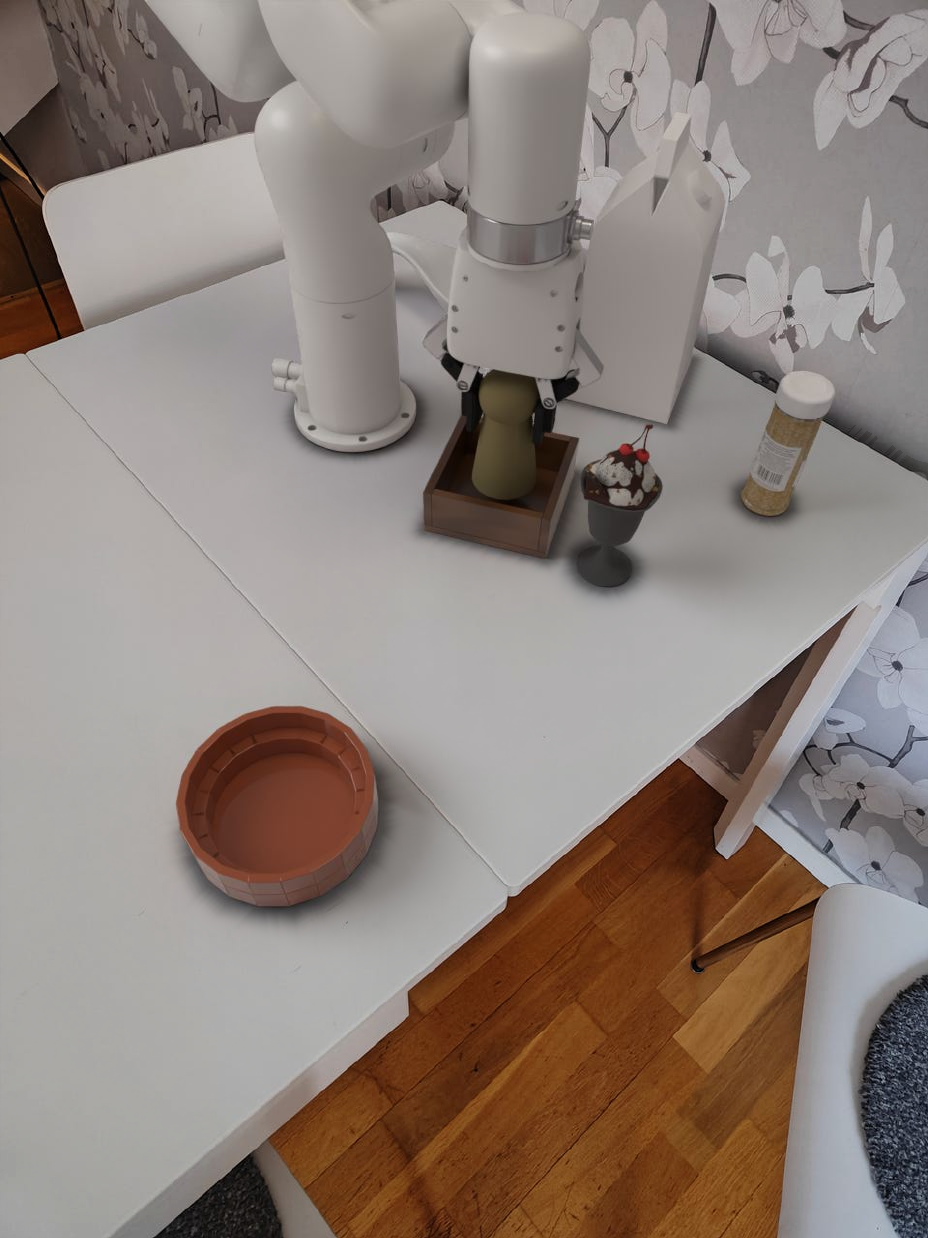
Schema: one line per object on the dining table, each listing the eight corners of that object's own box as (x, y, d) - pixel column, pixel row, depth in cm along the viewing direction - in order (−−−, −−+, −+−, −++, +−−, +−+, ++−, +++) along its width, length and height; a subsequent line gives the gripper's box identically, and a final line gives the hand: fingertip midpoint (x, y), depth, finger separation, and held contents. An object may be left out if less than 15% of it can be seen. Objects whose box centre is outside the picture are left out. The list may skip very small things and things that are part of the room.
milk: (592, 337, 100) (629, 89, 80) (691, 360, 98) (755, 110, 77) (561, 397, 93) (593, 142, 73) (666, 424, 91) (730, 167, 70)
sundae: (647, 549, 79) (682, 417, 68) (632, 602, 75) (665, 472, 64) (577, 531, 81) (599, 399, 69) (558, 582, 77) (578, 451, 65)
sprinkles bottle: (797, 506, 83) (848, 389, 73) (763, 524, 82) (810, 408, 71) (762, 478, 86) (807, 362, 75) (729, 495, 84) (769, 379, 73)
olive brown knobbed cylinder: (468, 456, 82) (470, 356, 73) (532, 453, 82) (541, 353, 74) (474, 501, 78) (477, 401, 70) (541, 497, 79) (552, 397, 70)
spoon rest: (548, 301, 105) (554, 244, 99) (518, 355, 98) (522, 297, 92) (369, 262, 110) (365, 205, 104) (328, 311, 103) (321, 253, 97)
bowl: (157, 875, 60) (139, 848, 56) (243, 718, 68) (232, 686, 64) (336, 933, 57) (329, 908, 54) (403, 764, 65) (401, 733, 62)
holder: (424, 530, 80) (422, 492, 77) (461, 451, 87) (461, 412, 84) (545, 559, 78) (550, 521, 75) (573, 475, 85) (579, 437, 82)
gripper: (647, 219, 62) (611, 421, 77) (422, 184, 66) (428, 385, 80) (629, 271, 58) (594, 476, 72) (388, 231, 61) (400, 435, 75)
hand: (507, 426), depth 76 cm, fingers closed on olive brown knobbed cylinder, 5 cm apart
